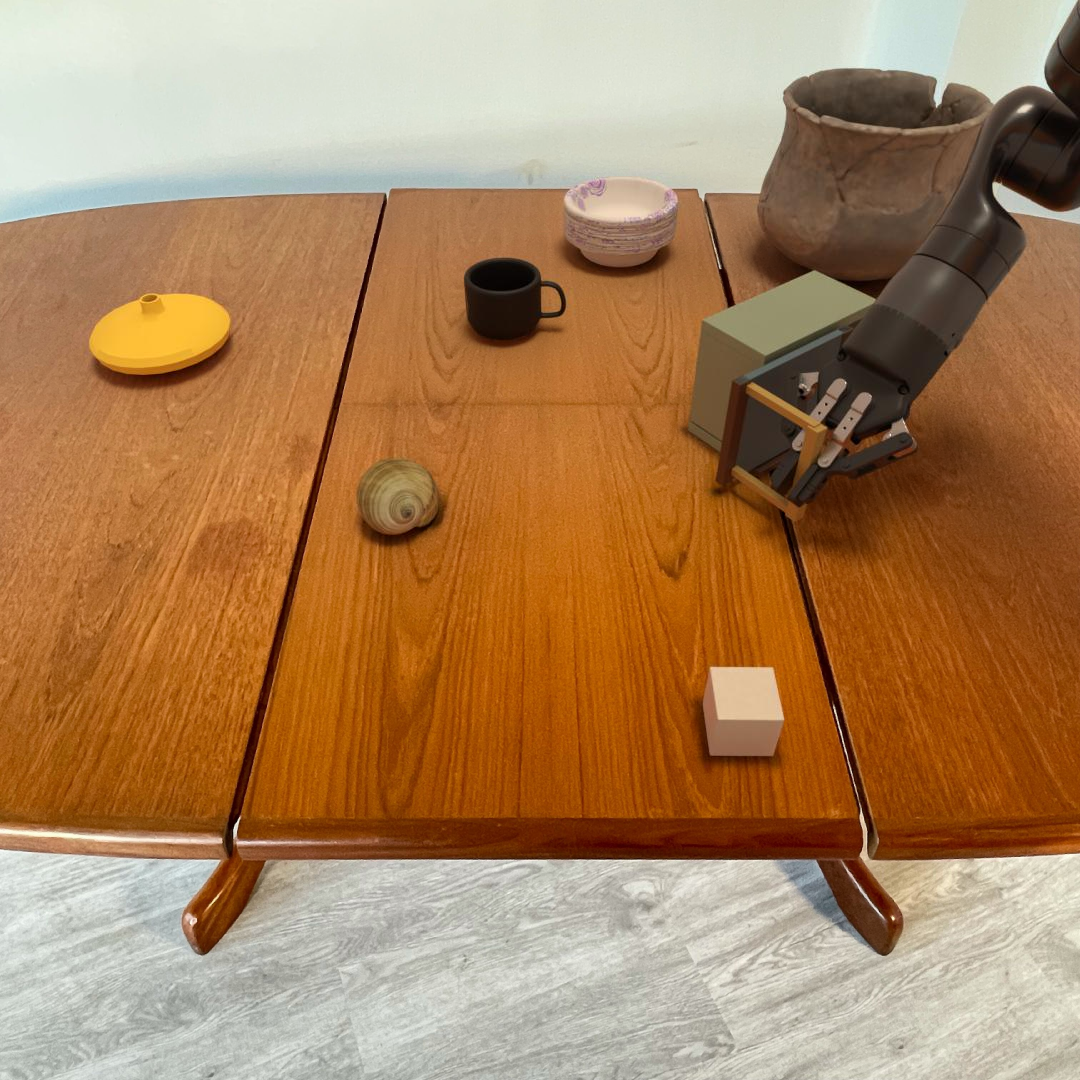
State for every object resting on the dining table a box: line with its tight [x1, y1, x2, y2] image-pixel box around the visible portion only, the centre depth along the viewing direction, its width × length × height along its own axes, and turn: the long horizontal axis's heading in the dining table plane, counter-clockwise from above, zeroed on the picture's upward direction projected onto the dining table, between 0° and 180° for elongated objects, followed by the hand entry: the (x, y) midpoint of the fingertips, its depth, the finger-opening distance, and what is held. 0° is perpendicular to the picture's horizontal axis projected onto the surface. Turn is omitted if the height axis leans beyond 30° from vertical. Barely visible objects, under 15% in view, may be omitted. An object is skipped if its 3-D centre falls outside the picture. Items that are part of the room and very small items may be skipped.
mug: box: [463, 257, 567, 341], centre depth 104 cm, size 12×9×7 cm
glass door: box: [715, 325, 854, 523], centre depth 81 cm, size 9×15×12 cm, turn 127°
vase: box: [88, 293, 232, 376], centre depth 102 cm, size 16×16×7 cm
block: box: [702, 666, 785, 757], centre depth 64 cm, size 5×5×5 cm
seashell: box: [356, 457, 440, 536], centre depth 82 cm, size 10×7×8 cm
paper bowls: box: [562, 176, 679, 268], centre depth 118 cm, size 15×15×8 cm
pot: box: [756, 67, 995, 282], centre depth 110 cm, size 25×24×21 cm
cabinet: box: [687, 270, 877, 479], centre depth 88 cm, size 10×16×13 cm, turn 127°
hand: (785, 497), depth 76 cm, fingers closed
